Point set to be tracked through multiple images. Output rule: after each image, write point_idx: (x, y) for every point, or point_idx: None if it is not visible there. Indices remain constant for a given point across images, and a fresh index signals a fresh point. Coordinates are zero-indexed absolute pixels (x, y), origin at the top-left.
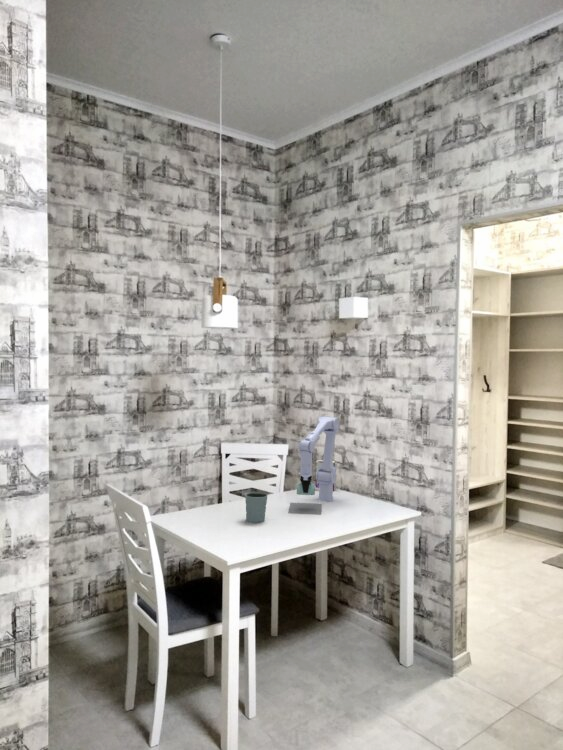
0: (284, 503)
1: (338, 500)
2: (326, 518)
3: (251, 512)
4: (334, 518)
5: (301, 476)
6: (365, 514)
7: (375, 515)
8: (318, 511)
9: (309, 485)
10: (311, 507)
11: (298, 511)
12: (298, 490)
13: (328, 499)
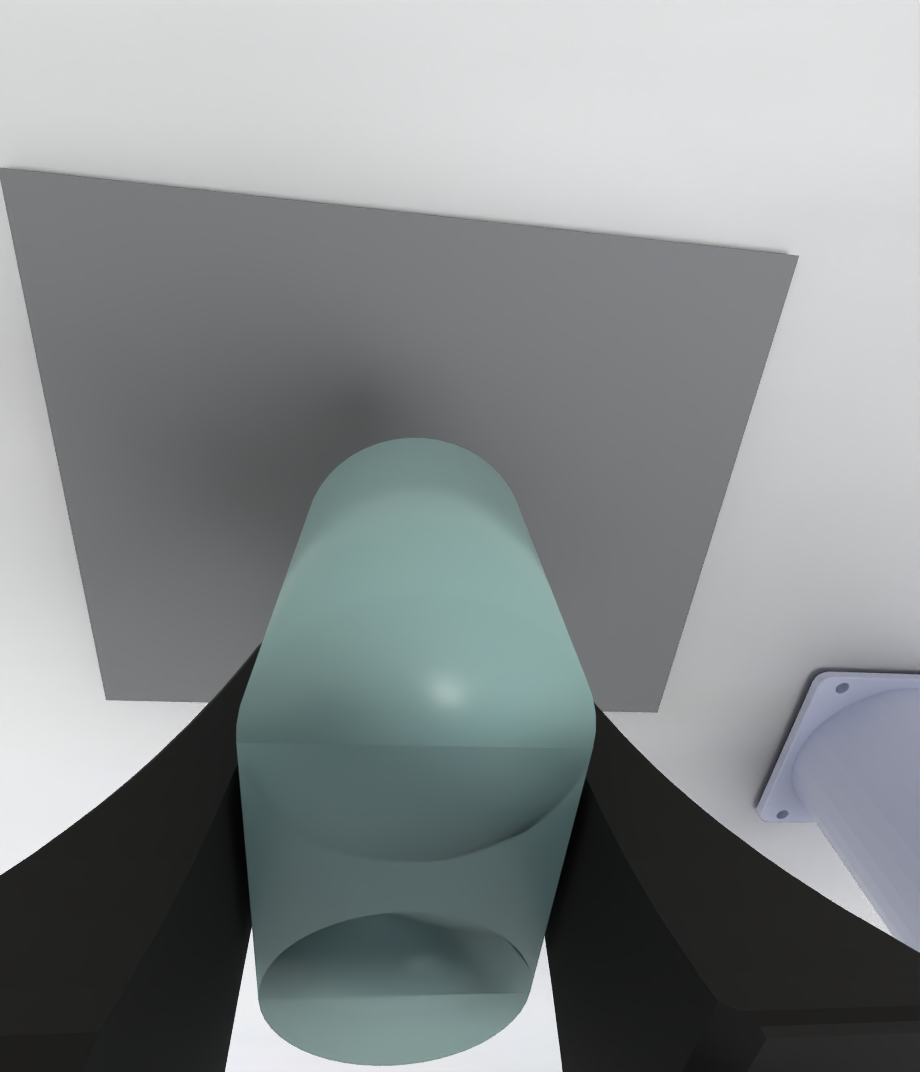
0: (821, 119)
1: (817, 851)
2: (2, 739)
3: None
4: (39, 811)
5: (820, 1062)
6: None
7: (270, 1061)
8: None
9: (263, 953)
10: None
11: (192, 389)
12: (306, 534)
13: (800, 792)
